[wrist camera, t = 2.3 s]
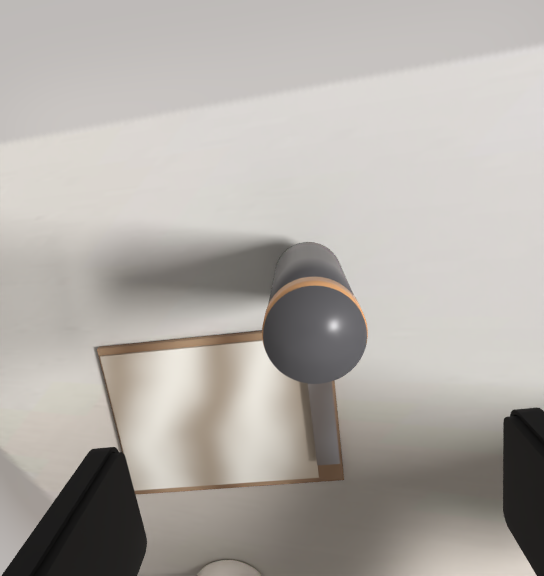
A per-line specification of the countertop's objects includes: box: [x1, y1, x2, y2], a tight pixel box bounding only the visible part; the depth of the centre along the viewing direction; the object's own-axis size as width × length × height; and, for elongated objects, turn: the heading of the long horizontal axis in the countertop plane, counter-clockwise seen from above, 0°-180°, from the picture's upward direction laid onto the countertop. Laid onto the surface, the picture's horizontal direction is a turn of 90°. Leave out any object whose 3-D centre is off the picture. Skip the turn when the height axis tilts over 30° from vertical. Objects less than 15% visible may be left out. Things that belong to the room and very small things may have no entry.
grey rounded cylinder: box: [262, 242, 368, 384], centre depth 23 cm, size 4×4×12 cm
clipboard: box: [97, 331, 344, 494], centre depth 31 cm, size 16×12×1 cm
